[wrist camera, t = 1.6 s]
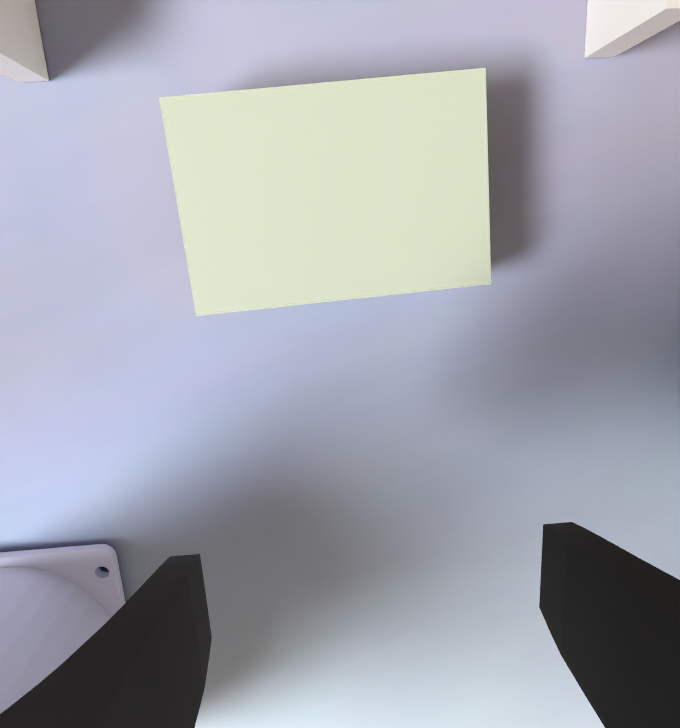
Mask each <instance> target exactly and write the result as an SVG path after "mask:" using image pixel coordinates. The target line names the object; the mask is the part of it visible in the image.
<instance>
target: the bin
mask: <svg viewBox="0 0 680 728" xmlns="http://www.w3.org/2000/svg"><path fill="white" fill-rule="evenodd" d="M678 21H680V0H588V4H587V22H586V40H585V58H599V57H615V56H617V55H619V54H620V53H622V52H624V51H626V50H628V49H630V48H631V47H633V46H635V45H637V44H639V43H640V42H642V41H644V40H646V39H648V38H649V37H651V36H653V35H655V34H657V33H658V32H660V31H662V30H664V29H666V28H668V27H669V26H671V25H673V24H675V23H677V22H678ZM0 75H2V76H4V77H6V78H8V79H10V80H12V81H14V82H16V83H17V82H41V81H49V78H48V73H47V67H46V61H45V56H44V50H43V44H42V39H41V33H40V27H39V22H38V16H37V10H36V5H35V0H0Z"/></svg>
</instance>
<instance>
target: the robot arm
mask: <svg viewBox="0 0 680 728" xmlns="http://www.w3.org/2000/svg"><path fill="white" fill-rule="evenodd" d="M100 566H102V567H106V568H107V569H108V570H109V572H103V571H102V570H100V568H99V567H100ZM539 607H540V610H541V612H542V614H543V616H544V619H545V621H546V623H547V626H548V628H549V630H550V633H551V635H552V637H553V639H554V641H555V643H556V645H557V647H558V650H559V652H560V654H561V656H562V657H563V659H564V661H565V662H566V664H567V666H568V667H569V669H570V671H571V672H572V674H573V676H574V677H575V679H576V681H577V682H578V684H579V686H580V687H581V689H582V691H583V692H584V694H585V696H586V697H587V699H588V700H589V702H590V704H591V705H592V707H593V709H594V710H595V712H596V714H597V715H598V717H599V718H600V720H601V722H602V723H603V725H604V727H605V728H680V580H679V579H677V578H675V577H673V576H671V575H669V574H667V573H665V572H663V571H662V570H660V569H658V568H656V567H654V566H652V565H651V564H649V563H647V562H645V561H643V560H641V559H640V558H638V557H636V556H634V555H632V554H631V553H629V552H627V551H625V550H623V549H622V548H620V547H618V546H616V545H615V544H613V543H611V542H609V541H607V540H606V539H604V538H602V537H600V536H598V535H596V534H595V533H593V532H591V531H589V530H587V529H585V528H583V527H581V526H579V525H577V524H575V523H572V522H567V523H556V524H544V525H543V543H542V564H541V585H540V606H539ZM211 639H212V637H211V630H210V623H209V616H208V609H207V602H206V594H205V587H204V580H203V573H202V566H201V559H200V554H195V555H184V556H172V557H169V558H168V559H167V560H166V561H165V562H164V563H163V564H162V565H161V566H160V567H159V568H158V569H157V570H156V571H155V573H154V574H153V575H152V576H151V577H150V578H149V579H148V580H147V581H146V582H145V583H144V584H143V585H142V586H141V587H140V588H139V589H138V590H137V591H136V593H135V594H134V595H133V596H132V597H131V598H130V599H129V600H128V601H127V602H125V597H124V592H123V586H122V581H121V576H120V570H119V565H118V559H117V554H116V552H115V550H114V549H113V548H112V547H111V546H109V545H107V544H95V545H83V546H71V547H59V548H47V549H36V550H24V551H12V552H0V728H194V727H195V723H196V719H197V716H198V712H199V708H200V704H201V700H202V696H203V692H204V687H205V681H206V674H207V668H208V661H209V653H210V646H211Z"/></svg>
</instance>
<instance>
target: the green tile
mask: <svg viewBox="0 0 680 728" xmlns="http://www.w3.org/2000/svg"><path fill="white" fill-rule="evenodd" d="M159 100H160V106H161V112H162V117H163V123H164V129H165V135H166V141H167V147H168V153H169V159H170V165H171V170H172V176H173V182H174V188H175V194H176V200H177V206H178V212H179V218H180V224H181V229H182V235H183V241H184V247H185V253H186V259H187V265H188V271H189V277H190V282H191V288H192V294H193V300H194V306H195V312H196V316H200V315H209V314H219V313H228V312H237V311H246V310H256V309H265V308H274V307H284V306H293V305H302V304H312V303H321V302H330V301H339V300H349V299H358V298H367V297H377V296H386V295H395V294H405V293H414V292H423V291H433V290H442V289H451V288H460V287H470V286H479V285H488V284H491V258H490V218H489V179H488V140H487V100H486V68H477V69H466V70H455V71H444V72H433V73H422V74H411V75H400V76H389V77H378V78H367V79H356V80H345V81H335V82H324V83H313V84H302V85H291V86H280V87H269V88H258V89H247V90H236V91H225V92H214V93H203V94H192V95H181V96H170V97H159Z"/></svg>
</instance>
